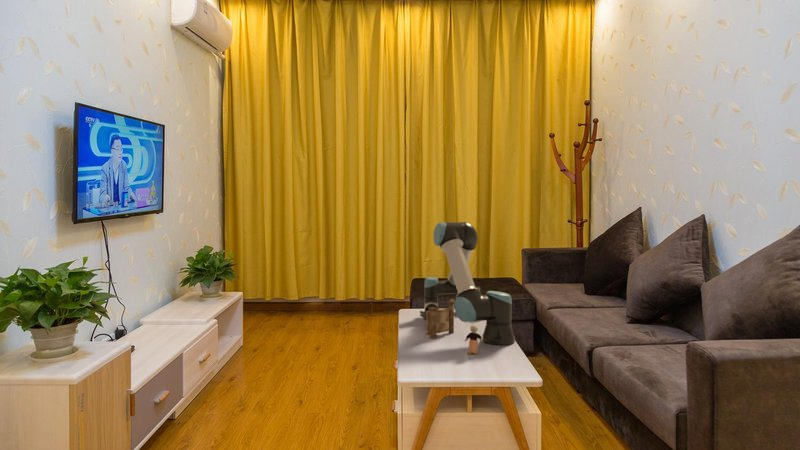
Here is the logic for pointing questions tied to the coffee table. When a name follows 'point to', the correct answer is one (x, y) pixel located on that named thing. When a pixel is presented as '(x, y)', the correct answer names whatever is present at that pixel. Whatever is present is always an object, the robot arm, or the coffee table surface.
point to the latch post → (432, 322)
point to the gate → (439, 320)
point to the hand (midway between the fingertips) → (433, 321)
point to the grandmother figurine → (473, 340)
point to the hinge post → (451, 316)
